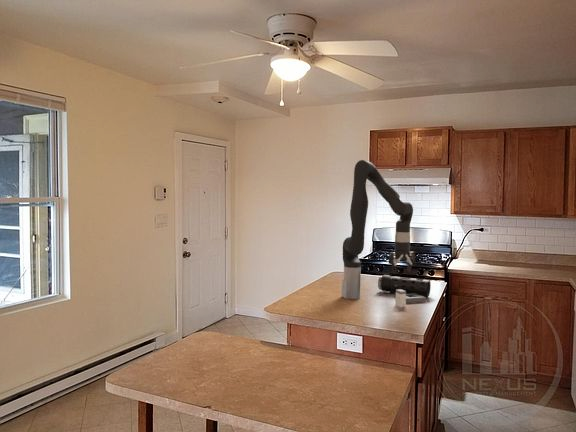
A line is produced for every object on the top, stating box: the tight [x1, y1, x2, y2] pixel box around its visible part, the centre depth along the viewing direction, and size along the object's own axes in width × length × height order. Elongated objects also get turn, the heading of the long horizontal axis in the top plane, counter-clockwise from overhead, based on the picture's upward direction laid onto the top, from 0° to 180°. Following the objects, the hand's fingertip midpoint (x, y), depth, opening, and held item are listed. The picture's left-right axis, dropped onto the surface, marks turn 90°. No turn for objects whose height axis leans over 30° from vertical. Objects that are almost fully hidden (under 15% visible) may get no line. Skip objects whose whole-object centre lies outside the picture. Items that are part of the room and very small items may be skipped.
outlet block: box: [406, 293, 427, 304], centre depth 234 cm, size 12×10×3 cm
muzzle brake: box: [377, 274, 432, 299], centre depth 248 cm, size 10×28×10 cm, turn 61°
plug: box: [394, 289, 407, 308], centre depth 222 cm, size 3×4×8 cm
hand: (401, 272), depth 221 cm, fingers open, 8 cm apart
